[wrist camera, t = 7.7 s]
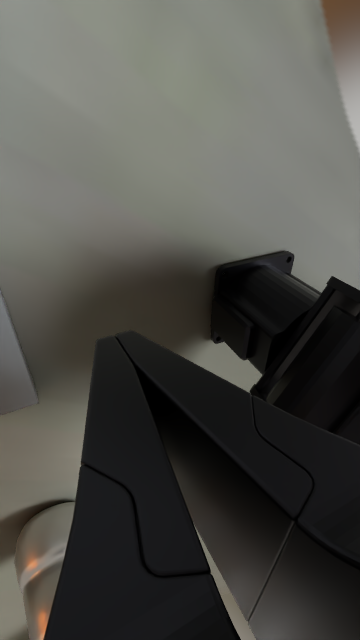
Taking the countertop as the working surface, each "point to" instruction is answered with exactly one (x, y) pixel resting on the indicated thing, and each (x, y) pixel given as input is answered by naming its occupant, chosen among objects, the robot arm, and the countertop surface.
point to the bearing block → (13, 368)
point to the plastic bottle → (42, 563)
